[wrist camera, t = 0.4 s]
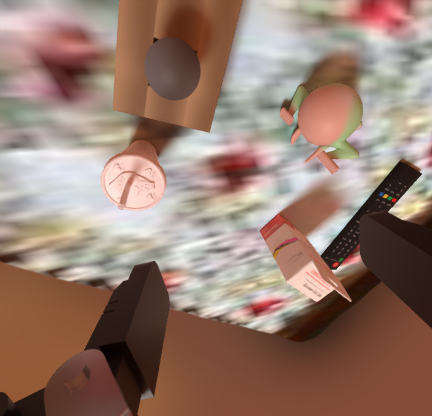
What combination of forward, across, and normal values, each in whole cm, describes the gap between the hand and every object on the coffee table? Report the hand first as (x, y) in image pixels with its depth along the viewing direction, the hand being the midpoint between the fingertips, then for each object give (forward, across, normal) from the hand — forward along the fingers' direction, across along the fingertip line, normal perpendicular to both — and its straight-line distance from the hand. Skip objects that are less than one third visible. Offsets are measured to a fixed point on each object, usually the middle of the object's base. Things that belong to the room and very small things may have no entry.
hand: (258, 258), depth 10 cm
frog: (+28, -14, -2) cm, 31 cm away
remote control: (+34, -24, +20) cm, 46 cm away
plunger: (+21, +3, -11) cm, 24 cm away
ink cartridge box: (+31, -8, +18) cm, 37 cm away
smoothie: (+26, +10, -2) cm, 28 cm away
